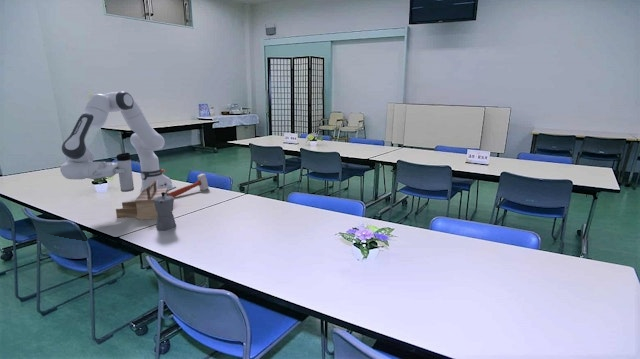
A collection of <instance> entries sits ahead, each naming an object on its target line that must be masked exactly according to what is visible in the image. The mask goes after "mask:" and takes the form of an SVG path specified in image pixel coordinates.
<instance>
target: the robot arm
mask: <svg viewBox="0 0 640 359" xmlns="http://www.w3.org/2000/svg"><path fill="white" fill-rule="evenodd" d="M109 112H110V113H114V112H115V113H116V112H120V113H121V116H122V117H123V119H124V120H125V122H126V124H127V126H128V128H129V129H130V130H131V131H132V132H133V133H132V134H131V135H130V138H129V142H130V144H131V145H132V146H133V147H134V149H135V151H136V153H137V155H138V159H139V162H140V164H139V165H140V178H141V187H140V192H142V191H143V190H144V189H147V188H148V186H149V185H150V184H151V182H152V181H153V180H156V188H157V189H159V188H168V191H169V190H172V189H173V190H174V189H175V188H177V186H176V185H175V184H173V183H172V182H173V181H172V180H171V178H170V177H168V176H167V175H165V174H163V173H165V172H166V170H165V169H164V168H163V169H160V163H159V162H160V161H159V157H158V156H157V154H155V152H154V151H158V150H161V149H163V147H165V144H166V142H165V138H164V137H163V136H162V135H161V134H160V133H158V132H157V131H156V130H155V129H154V128H153V127H152V124H150V123H149V121H148V120H147V118H146V117H145V115H144V113H143V111H142V109H141V107H140V105H138V103H137V101H136V100H135V99H134V98H133V97H132V95H131V94H130V93H129V92H127V91H123V90H122V91H112V92H107V93H95V94H92V95H91V96H90V97H89V100H88V102H87V103H86V105H85V107H84V110H83V113H82V114H81V115H79V118H78V120H77V121H76V123H75V125H74V127H73V129H72V131H71V133H70V135H69V136H68V137H67V139H65V140H64V141H63V142H62V145H61V151H62V153H63V155H64V156H66V157H67V159H66V161H65V162H64V163H62V164H60V172H61V175H62V176H63V177H64V179H66V180H86V179H90V180H97V179H103V178H112V177H113V176H115V175H116V174H118V175H119V173H124V172H126V171H125V169H118V164H117V162H118V161H115V162H114V161H105V160H103V161H94V153H93V152H92V150H91V149H90V148H89V147H88V146H87V144H86V138H87V136H88V133H89V131H90V129H91V128H94V129H95V128H96V129H97V128H101V127H103V126H104V125H105V123H106V121H107V120H108V116H109V114H110V113H109ZM151 189H154V186H152V188H151Z"/></svg>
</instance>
